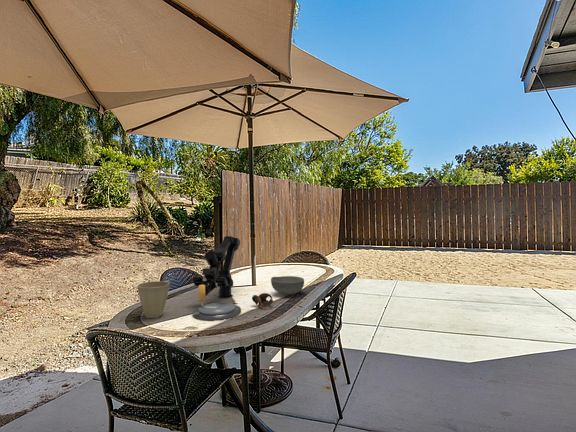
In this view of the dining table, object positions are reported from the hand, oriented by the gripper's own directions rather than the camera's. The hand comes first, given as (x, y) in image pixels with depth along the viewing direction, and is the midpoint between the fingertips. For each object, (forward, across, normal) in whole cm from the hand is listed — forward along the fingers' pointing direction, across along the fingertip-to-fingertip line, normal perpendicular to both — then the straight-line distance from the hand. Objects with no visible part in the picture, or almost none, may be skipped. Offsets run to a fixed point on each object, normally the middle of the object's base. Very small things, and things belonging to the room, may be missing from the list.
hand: (205, 295), depth 183 cm
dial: (+7, +8, +1) cm, 11 cm away
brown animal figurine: (-2, +28, +13) cm, 31 cm away
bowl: (-21, +36, +32) cm, 53 cm away
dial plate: (+8, +8, +2) cm, 12 cm away
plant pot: (+15, -22, -4) cm, 26 cm away
